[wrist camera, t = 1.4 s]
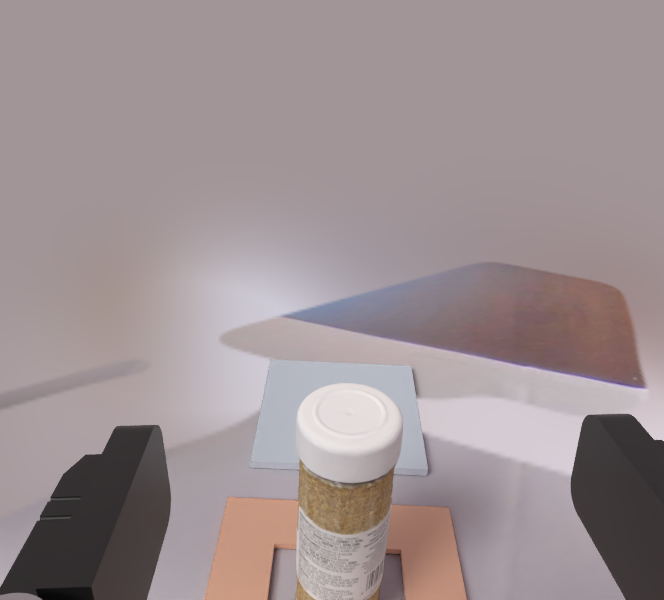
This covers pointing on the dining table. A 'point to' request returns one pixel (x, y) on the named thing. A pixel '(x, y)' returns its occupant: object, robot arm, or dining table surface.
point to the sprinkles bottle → (344, 490)
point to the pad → (307, 376)
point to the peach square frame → (281, 532)
